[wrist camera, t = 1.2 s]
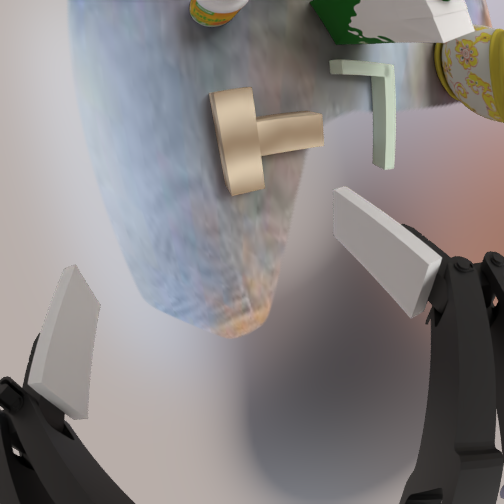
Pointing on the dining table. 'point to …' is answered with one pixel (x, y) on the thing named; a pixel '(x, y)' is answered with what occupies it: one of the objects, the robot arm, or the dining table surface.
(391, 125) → the corner stop
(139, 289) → the dining table surface
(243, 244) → the dining table surface
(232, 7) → the supplement bottle
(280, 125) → the t block
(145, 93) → the dining table surface
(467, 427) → the robot arm
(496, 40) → the flowerpot
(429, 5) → the milk carton
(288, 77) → the dining table surface
